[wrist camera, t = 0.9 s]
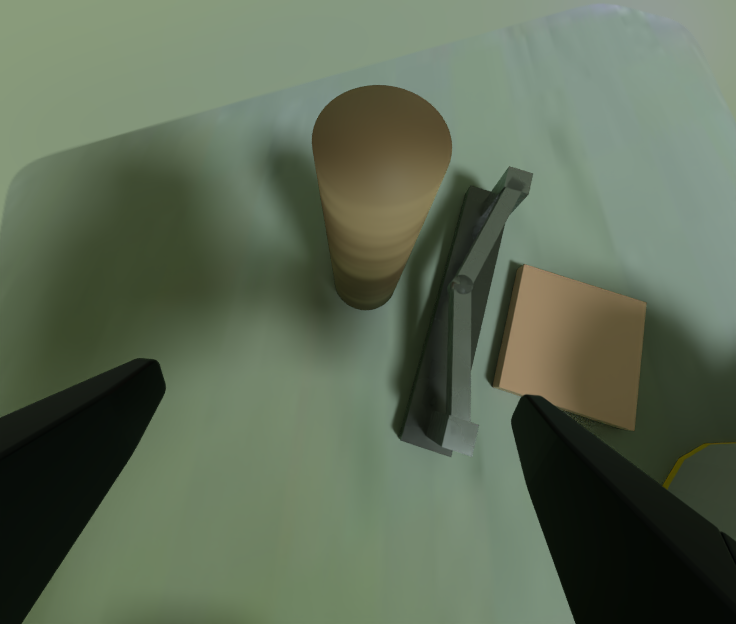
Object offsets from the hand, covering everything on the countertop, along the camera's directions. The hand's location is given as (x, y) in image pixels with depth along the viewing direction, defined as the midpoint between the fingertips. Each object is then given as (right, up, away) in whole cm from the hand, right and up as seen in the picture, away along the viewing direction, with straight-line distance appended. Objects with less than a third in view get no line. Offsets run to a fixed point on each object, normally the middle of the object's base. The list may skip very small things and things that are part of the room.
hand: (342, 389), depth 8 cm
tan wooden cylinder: (0, +4, +15) cm, 15 cm away
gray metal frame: (+8, +2, +14) cm, 16 cm away
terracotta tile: (+15, 0, +14) cm, 20 cm away
